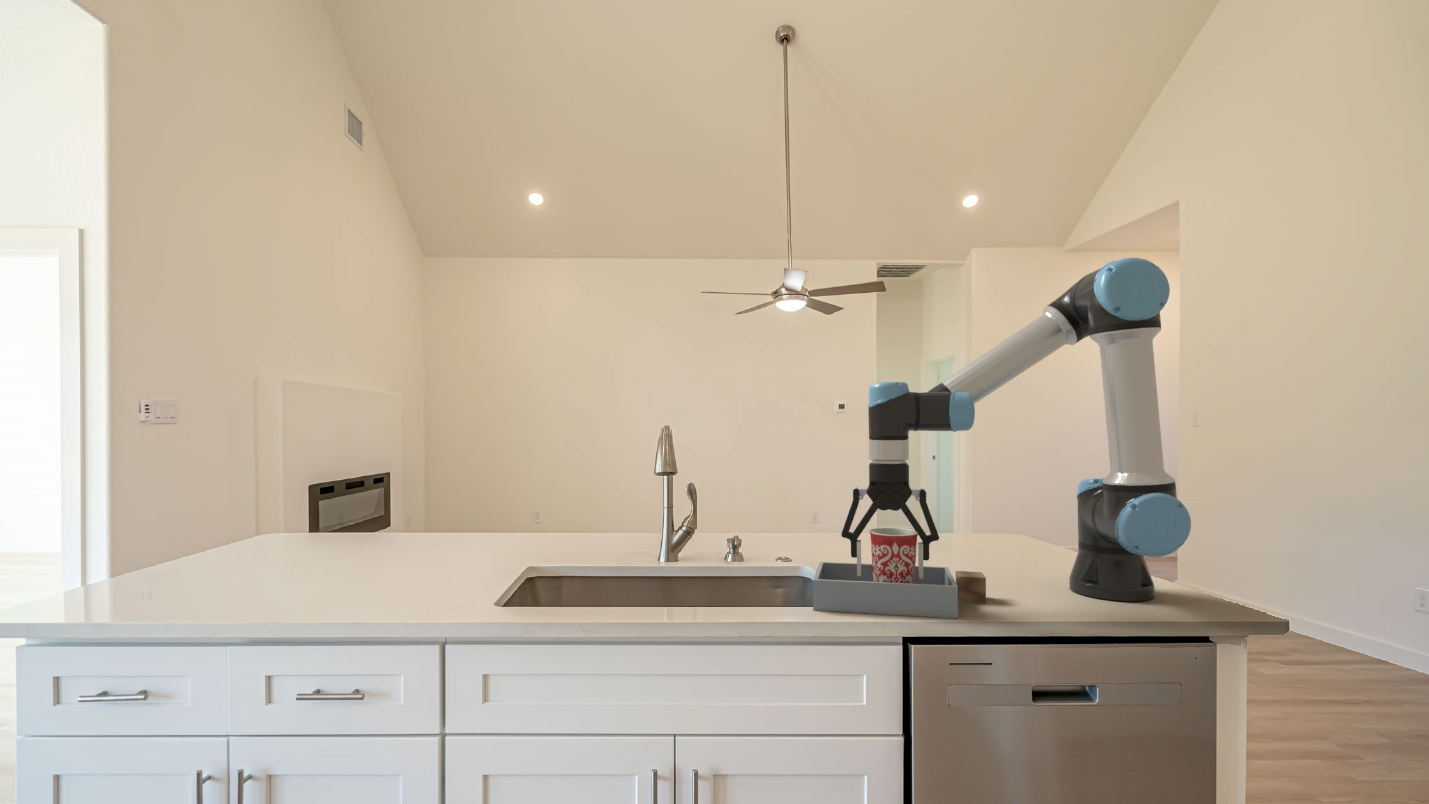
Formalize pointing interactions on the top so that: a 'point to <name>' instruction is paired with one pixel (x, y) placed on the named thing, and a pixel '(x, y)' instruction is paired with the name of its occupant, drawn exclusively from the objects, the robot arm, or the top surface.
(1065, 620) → the top surface
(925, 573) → the tote
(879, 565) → the mug
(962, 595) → the cube
